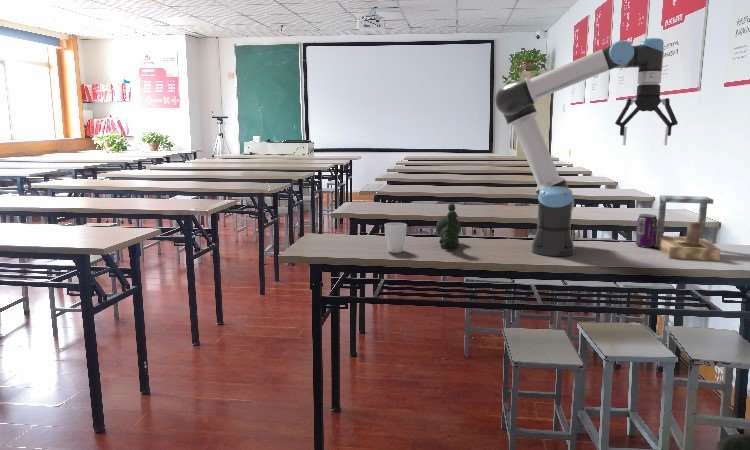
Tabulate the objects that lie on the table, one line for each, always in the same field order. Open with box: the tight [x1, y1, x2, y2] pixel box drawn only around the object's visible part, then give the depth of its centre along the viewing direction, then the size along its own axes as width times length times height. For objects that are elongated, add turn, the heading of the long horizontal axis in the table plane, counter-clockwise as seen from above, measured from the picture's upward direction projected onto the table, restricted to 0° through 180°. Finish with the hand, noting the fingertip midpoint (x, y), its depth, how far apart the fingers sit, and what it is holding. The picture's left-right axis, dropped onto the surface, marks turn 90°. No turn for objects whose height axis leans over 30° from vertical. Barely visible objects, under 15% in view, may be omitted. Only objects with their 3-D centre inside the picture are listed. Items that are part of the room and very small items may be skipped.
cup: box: [384, 222, 408, 254], centre depth 217 cm, size 8×8×10 cm
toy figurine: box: [435, 202, 462, 249], centre depth 225 cm, size 9×19×25 cm
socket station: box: [655, 194, 722, 261], centre depth 214 cm, size 16×22×20 cm
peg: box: [685, 221, 701, 246], centre depth 209 cm, size 4×4×12 cm
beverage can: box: [635, 213, 658, 248], centre depth 226 cm, size 7×7×12 cm
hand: (644, 145), depth 212 cm, fingers open, 13 cm apart
